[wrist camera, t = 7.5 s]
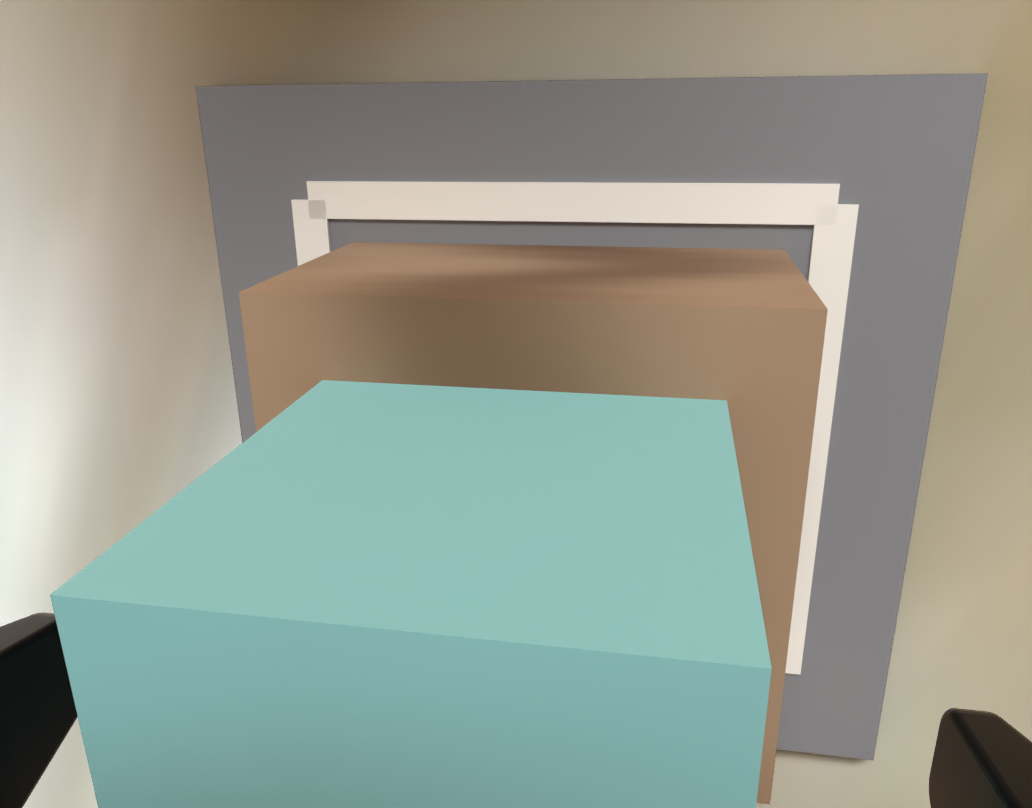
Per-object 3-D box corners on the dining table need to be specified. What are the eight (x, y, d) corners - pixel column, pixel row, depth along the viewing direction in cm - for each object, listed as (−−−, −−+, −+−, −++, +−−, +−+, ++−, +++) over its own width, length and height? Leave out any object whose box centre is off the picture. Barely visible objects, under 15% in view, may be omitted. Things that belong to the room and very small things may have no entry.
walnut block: (784, 249, 13) (827, 309, 9) (747, 634, 15) (770, 804, 12) (353, 241, 14) (238, 292, 10) (380, 599, 17) (295, 744, 13)
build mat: (978, 74, 12) (989, 73, 12) (869, 745, 16) (874, 763, 16) (208, 86, 14) (193, 85, 14) (283, 679, 18) (273, 693, 18)
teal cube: (726, 400, 10) (772, 668, 5) (698, 744, 12) (713, 1178, 7) (322, 380, 11) (51, 594, 6) (351, 703, 12) (157, 1063, 8)
